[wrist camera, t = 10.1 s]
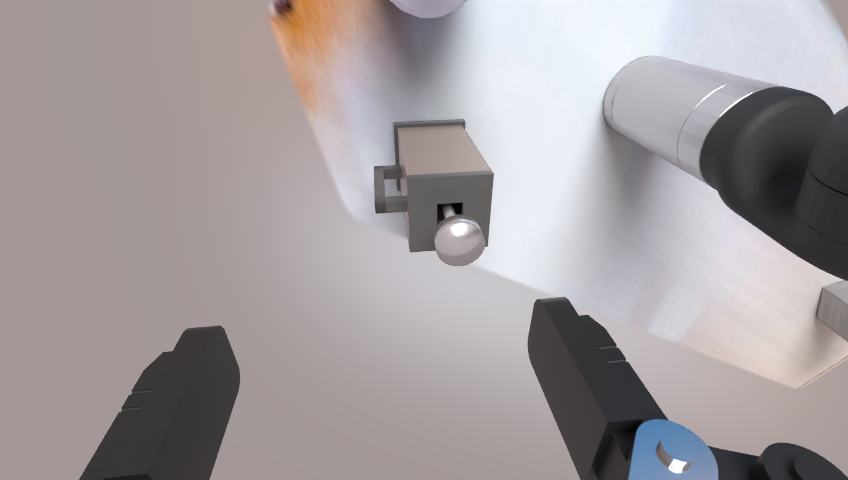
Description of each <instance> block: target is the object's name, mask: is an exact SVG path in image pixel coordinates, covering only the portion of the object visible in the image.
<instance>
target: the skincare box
mask: <svg viewBox="0 0 848 480" xmlns="http://www.w3.org/2000/svg"><path fill="white" fill-rule="evenodd" d="M817 319H819V320H820V321H821V322H823V323H824V324H825V325H826V326H828V327H829V328H830V329H832V330H833V331H834V332H836V333H837V334H838V335H839V336H841V337H842V338H843V339H845V340H846V341H847V342H848V281H846V280H845V281H842V282H838V283H835V284H831V285H828V286H825V287H823V290H822V294H821V299H820V303H819V308H818V313H817Z"/></svg>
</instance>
